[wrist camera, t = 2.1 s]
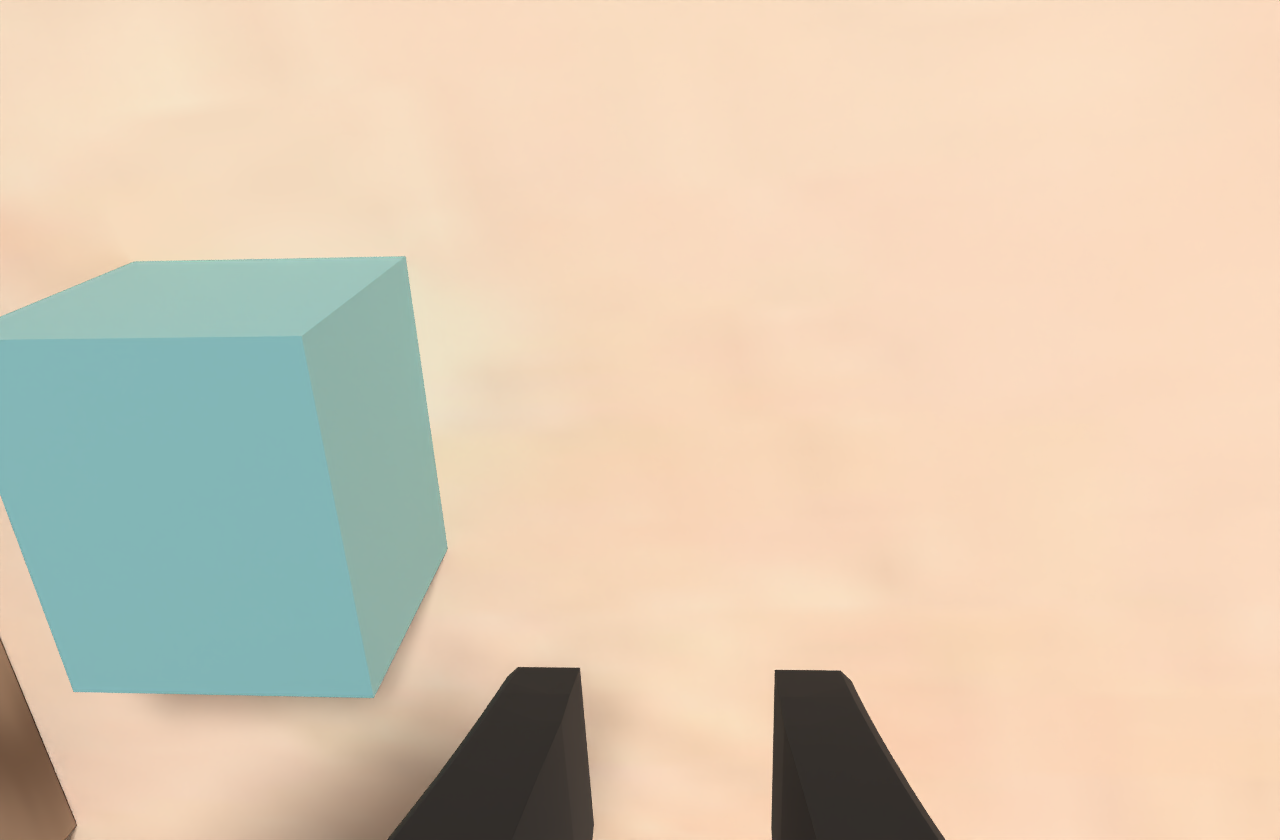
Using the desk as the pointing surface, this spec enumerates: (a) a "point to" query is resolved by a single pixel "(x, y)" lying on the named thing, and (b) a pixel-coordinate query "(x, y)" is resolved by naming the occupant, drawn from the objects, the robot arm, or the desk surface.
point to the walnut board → (26, 772)
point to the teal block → (223, 474)
